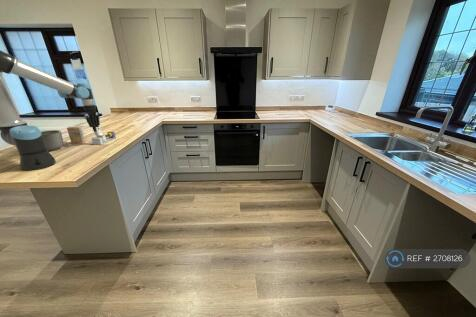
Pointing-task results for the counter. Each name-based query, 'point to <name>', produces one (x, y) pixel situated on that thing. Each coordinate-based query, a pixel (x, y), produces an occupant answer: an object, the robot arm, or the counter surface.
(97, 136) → the marker sleeve
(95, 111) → the robot arm
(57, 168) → the counter surface
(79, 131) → the supplement box
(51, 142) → the planter
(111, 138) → the cord rig
